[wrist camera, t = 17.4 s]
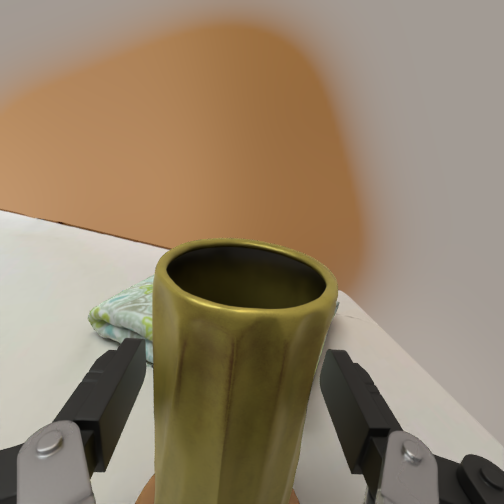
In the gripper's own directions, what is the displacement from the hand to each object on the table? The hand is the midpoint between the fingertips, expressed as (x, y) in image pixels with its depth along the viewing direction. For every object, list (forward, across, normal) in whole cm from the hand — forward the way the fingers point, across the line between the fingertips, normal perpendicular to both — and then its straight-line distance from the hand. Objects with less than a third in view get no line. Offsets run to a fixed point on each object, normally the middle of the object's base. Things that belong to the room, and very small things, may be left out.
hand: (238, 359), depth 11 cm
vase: (-2, 0, -9) cm, 9 cm away
